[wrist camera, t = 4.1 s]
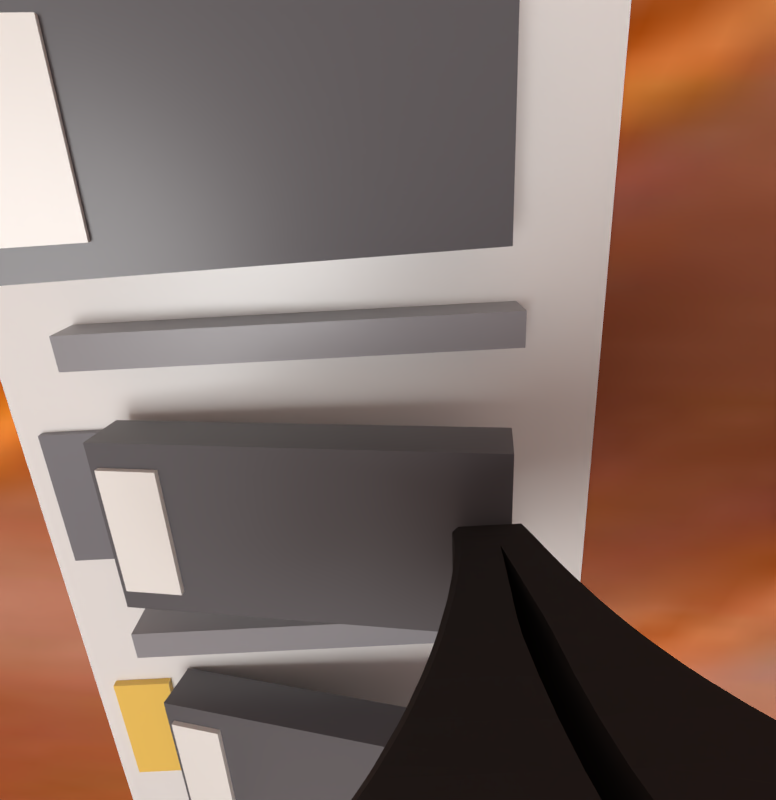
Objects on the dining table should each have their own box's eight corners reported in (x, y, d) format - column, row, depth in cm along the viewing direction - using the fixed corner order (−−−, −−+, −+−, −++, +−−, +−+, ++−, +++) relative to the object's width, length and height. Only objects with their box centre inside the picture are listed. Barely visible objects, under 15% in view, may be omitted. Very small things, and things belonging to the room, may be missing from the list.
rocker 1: (494, -12, 10) (523, -37, 9) (490, 240, 12) (515, 246, 11) (-56, -10, 9) (-107, -39, 8) (25, 275, 11) (-8, 287, 9)
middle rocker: (512, 427, 12) (514, 457, 11) (506, 598, 13) (508, 641, 12) (116, 420, 13) (79, 444, 12) (154, 574, 15) (124, 611, 14)
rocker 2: (504, 725, 14) (501, 775, 13) (501, 838, 16) (498, 893, 15) (188, 668, 17) (161, 706, 15) (213, 773, 18) (189, 815, 17)
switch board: (597, -136, 12) (677, -250, 9) (540, 744, 22) (569, 845, 18) (-65, -97, 12) (-229, -197, 9) (169, 762, 22) (132, 866, 18)
